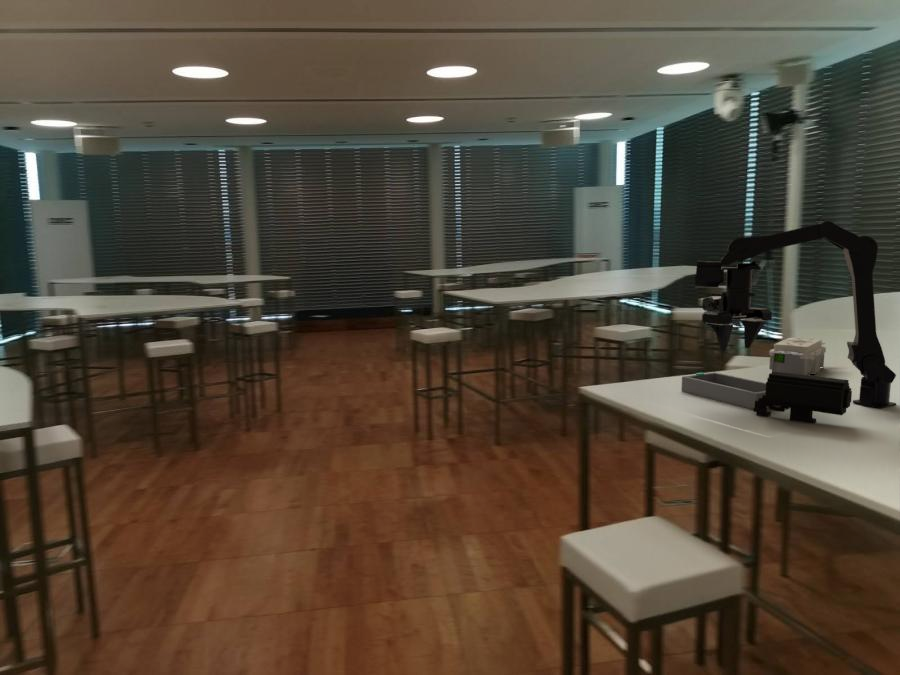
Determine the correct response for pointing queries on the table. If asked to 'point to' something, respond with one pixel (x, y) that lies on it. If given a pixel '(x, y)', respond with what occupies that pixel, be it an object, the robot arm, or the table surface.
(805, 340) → the white box
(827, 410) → the black stepped block
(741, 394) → the gray open-top storage bin
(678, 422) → the table surface
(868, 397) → the robot arm
